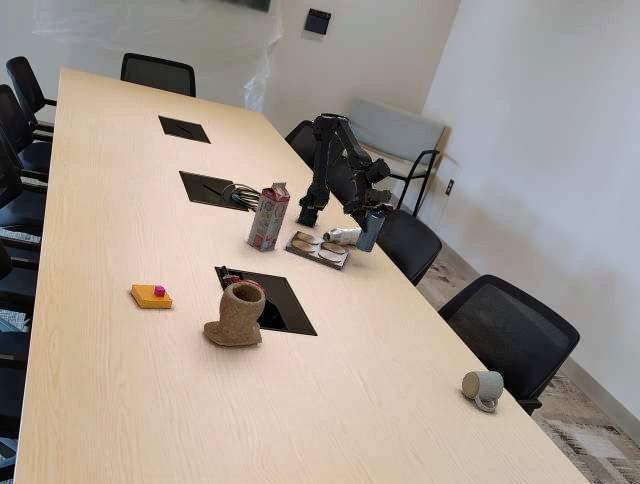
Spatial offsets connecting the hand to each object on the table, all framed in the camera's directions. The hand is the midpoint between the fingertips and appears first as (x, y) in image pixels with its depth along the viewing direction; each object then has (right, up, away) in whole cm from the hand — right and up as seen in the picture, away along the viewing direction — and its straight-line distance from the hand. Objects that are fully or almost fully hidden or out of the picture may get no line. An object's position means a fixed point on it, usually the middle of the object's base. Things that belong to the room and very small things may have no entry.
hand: (372, 232), depth 230 cm
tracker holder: (-43, -25, -39) cm, 63 cm away
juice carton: (-38, -6, -5) cm, 39 cm away
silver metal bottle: (0, +4, +25) cm, 25 cm away
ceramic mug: (+18, -56, -55) cm, 80 cm away
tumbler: (-3, -5, +4) cm, 7 cm away
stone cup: (-45, -41, -65) cm, 89 cm away
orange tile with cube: (-67, -30, -60) cm, 94 cm away
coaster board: (-18, -5, +6) cm, 20 cm away
